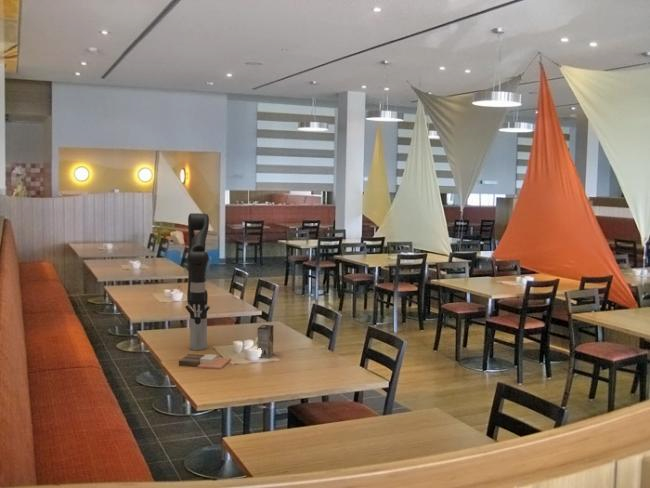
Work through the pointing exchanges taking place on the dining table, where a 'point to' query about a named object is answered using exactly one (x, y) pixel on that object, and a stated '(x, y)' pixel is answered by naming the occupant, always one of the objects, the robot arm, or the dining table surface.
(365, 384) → the dining table surface
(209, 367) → the terracotta mat
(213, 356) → the cream tile
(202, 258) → the robot arm
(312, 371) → the dining table surface
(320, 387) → the dining table surface
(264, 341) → the coffee box
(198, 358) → the walnut deck
